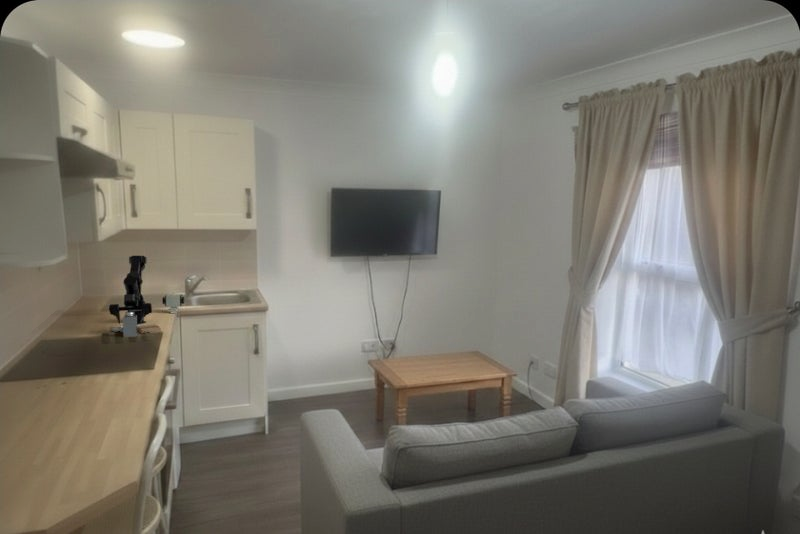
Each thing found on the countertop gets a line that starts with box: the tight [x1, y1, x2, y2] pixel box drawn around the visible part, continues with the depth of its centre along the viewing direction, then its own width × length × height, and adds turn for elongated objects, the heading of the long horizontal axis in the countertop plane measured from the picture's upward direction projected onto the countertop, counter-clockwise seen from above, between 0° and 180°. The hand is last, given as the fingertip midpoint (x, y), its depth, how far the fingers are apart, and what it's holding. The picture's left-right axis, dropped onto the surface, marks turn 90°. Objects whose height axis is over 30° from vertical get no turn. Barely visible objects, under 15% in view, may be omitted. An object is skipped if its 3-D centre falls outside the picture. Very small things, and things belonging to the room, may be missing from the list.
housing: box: [122, 310, 138, 338], centre depth 252 cm, size 4×6×12 cm
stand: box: [137, 323, 162, 334], centre depth 262 cm, size 9×9×2 cm
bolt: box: [109, 324, 124, 333], centre depth 258 cm, size 7×4×4 cm, turn 83°
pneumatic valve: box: [162, 293, 186, 315], centre depth 305 cm, size 6×12×12 cm, turn 106°
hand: (129, 323), depth 250 cm, fingers open, 9 cm apart
